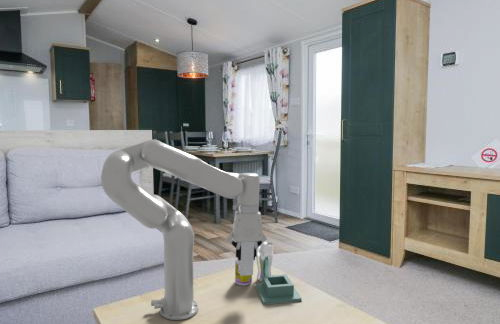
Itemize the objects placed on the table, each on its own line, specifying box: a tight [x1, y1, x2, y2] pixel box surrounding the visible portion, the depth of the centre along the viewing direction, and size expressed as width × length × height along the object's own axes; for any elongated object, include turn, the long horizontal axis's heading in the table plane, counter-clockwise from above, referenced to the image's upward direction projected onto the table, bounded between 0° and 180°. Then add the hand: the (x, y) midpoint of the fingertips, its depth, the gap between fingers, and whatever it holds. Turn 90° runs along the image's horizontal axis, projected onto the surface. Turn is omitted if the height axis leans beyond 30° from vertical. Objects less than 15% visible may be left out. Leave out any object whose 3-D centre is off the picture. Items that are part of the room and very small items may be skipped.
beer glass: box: [255, 240, 274, 283], centre depth 145 cm, size 7×7×15 cm
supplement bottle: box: [234, 257, 253, 287], centre depth 142 cm, size 7×7×13 cm
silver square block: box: [238, 242, 255, 276], centre depth 127 cm, size 4×4×13 cm
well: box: [254, 273, 303, 305], centre depth 134 cm, size 14×14×5 cm
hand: (246, 258), depth 127 cm, fingers closed on silver square block, 4 cm apart
